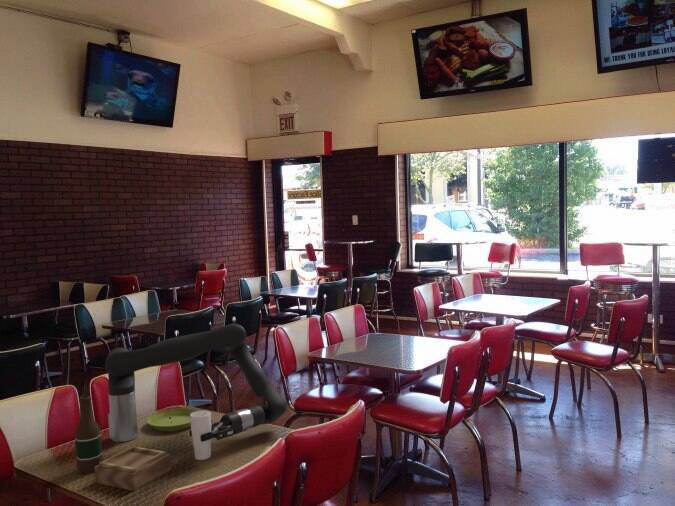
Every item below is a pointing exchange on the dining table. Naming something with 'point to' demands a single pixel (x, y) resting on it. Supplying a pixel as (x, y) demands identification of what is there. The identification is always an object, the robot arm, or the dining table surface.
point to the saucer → (171, 420)
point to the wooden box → (132, 468)
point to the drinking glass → (198, 427)
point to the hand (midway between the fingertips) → (195, 436)
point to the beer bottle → (87, 439)
